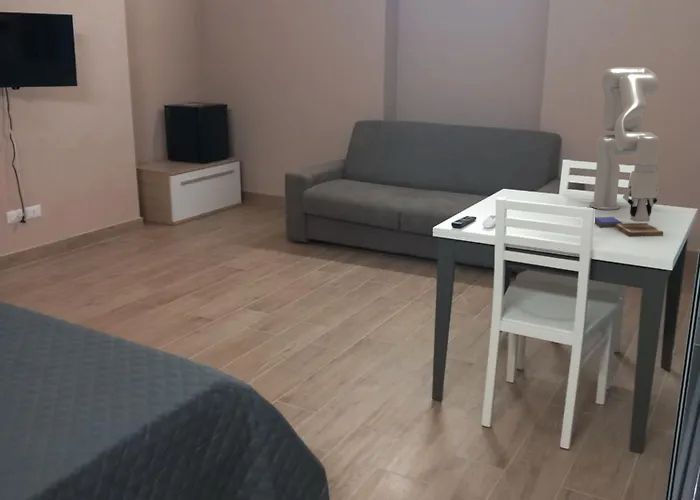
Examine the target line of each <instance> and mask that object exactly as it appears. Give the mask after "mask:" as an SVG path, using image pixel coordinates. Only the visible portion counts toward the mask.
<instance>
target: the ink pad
mask: <svg viewBox="0 0 700 500" xmlns="http://www.w3.org/2000/svg"><path fill="white" fill-rule="evenodd" d="M594 218H595V225H596V226H598V227H599V228H602V229H603V228H615V224H623V222H622V221H621V220H619V219H618V218H616V217H614V216H601V217H600V216H598V217H594Z"/></svg>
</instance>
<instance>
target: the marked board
mask: <svg viewBox="0 0 700 500" xmlns="http://www.w3.org/2000/svg"><path fill="white" fill-rule="evenodd" d="M622 223H623V222H622ZM614 228H615V229H616V230H618V231H619V232H621V233H622V234H624V235H625V236H627V237H628V238H629V237H632V238H633V237H658V236H659V237H660V236H661V237H663V236H664V231H662V230H661V229H660V228H658V227H655V226H654V225H653V224H650V223H648V222H634V223H633V222H632V223H630V222H629V223H623V224H615V227H614Z"/></svg>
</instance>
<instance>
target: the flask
mask: <svg viewBox="0 0 700 500" xmlns="http://www.w3.org/2000/svg"><path fill="white" fill-rule="evenodd" d="M646 205H647V199H638V200H637V203H636V207H637V211H636V215H635V217H633V216H631V215H630V218H629V219H630V220H631V221H633V222H639V223H646V222H650V220H651V218H650V217H649V216H648V210H647V206H646Z"/></svg>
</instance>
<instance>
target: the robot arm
mask: <svg viewBox="0 0 700 500" xmlns="http://www.w3.org/2000/svg"><path fill="white" fill-rule="evenodd" d="M659 87H660V83H659V78H658V76H657V74H656V73H655V72H653V71H652V70H650V69H649V68H647V67H645V66H644V67H643V66H639V67H638V66H636V67H635V66H634V67H633V66H631V67H630V66H629V67H628V66H618V67H617V66H615V67H610V68H607V69H606V70H604V71H603V74H602V77H601V88H602V91H603V92H602V93H603V109H602V110H603V111H602V120H601V122H602V123H601V124H602V125H601V126H602V128H603V130H605V131H608V132H614V133H609V134H608V133H607V134H602V135H601V136H599V137H598V138H597V140H596V143H595V146H596V147H595V148H596V149H595V150H596V167H595V168H596V170H595V181H594V192H593V201H591V202H589V207H590V206H591V207H590V208H592V207H594V208H593V209H595V208H597V209H596V210H603V211H607V210H608V211H613V210H619V209H620V207H621V204H619V203H618V202H617V201H618V199H617V198H618V191H619V183H620V182H619V181H620V171H621V170H620V169H621V167H620V164H619V162H617V161H618V160H616V158H619V157H622V158H623V157H624V158H625V157H626V158H627V157H629V158H630V157H635V160H634V171H633V170H632V171H631V173H630V177H629V179H628V185H627V190H626V192H625V193H624V194H623V195H622V199H624V200H625V201H626V202H627V203H628V204H629V206H630V208H629V214H630V217H631V216H633V217H635V215H636V211H637V207H636V205H637V202H638V199H646V206H647V210H648V216H649V218H650V217H651V214H652V209H653V207H654V205H655V204H656V203H657V202H658V201H659V200H660V199H662V196H663V195H662V194H661V193H660V191H659V177H658V176H659V175H658V172H657V170H658V169H660V167H661V166H660V164H658V156H659V155H658V154H659V149H660V148H659V147H660V137H659V136H657V135H655V134H654V133H653V132H649V131H642V127H643V114H644V113H645V112H646V111H647V108H648V107H647V102H646V96H651V95H655V94H656V93H657V92H658V90H659ZM630 198H631V199H630Z"/></svg>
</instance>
